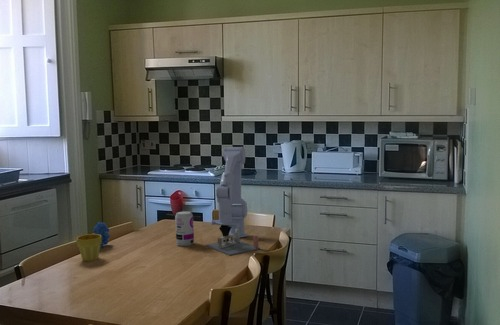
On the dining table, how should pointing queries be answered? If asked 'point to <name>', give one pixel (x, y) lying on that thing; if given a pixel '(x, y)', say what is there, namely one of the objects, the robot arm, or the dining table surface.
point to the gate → (226, 240)
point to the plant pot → (89, 246)
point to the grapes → (102, 232)
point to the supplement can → (184, 228)
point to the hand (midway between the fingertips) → (226, 241)
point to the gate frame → (236, 246)
